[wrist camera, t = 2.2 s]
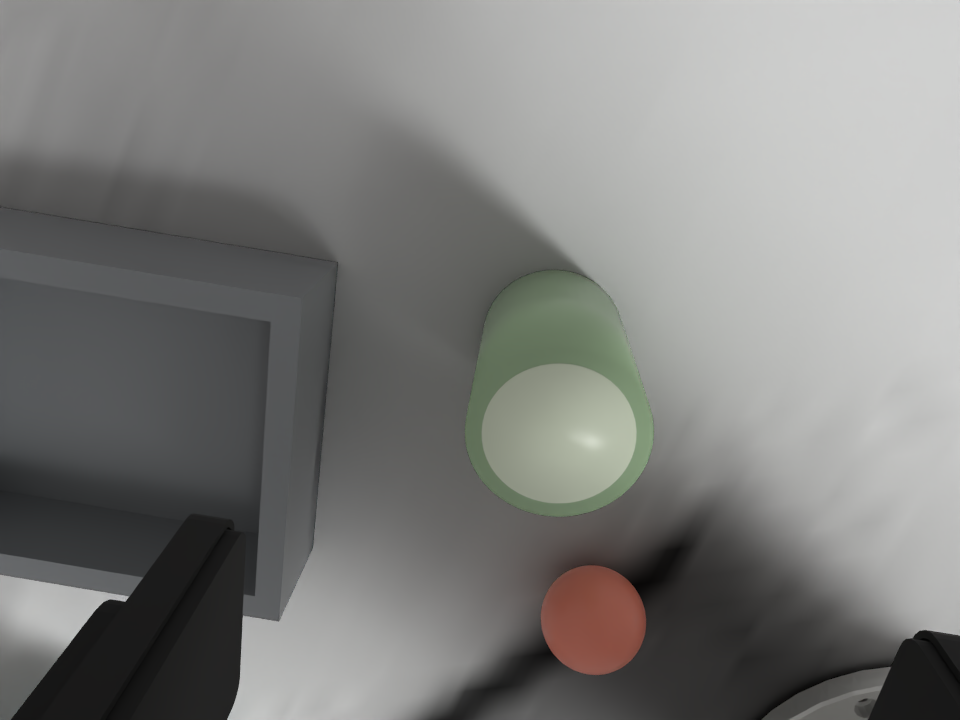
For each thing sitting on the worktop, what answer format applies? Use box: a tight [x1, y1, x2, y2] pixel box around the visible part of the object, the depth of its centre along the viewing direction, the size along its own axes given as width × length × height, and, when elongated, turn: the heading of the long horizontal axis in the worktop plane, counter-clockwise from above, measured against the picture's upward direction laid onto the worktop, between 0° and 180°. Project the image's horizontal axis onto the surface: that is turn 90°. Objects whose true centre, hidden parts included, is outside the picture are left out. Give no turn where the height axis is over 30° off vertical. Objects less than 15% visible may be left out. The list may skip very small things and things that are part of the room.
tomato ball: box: [541, 565, 646, 675], centre depth 27 cm, size 4×4×4 cm
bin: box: [0, 207, 338, 621], centre depth 25 cm, size 12×11×4 cm
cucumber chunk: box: [465, 270, 654, 517], centre depth 22 cm, size 4×4×7 cm
